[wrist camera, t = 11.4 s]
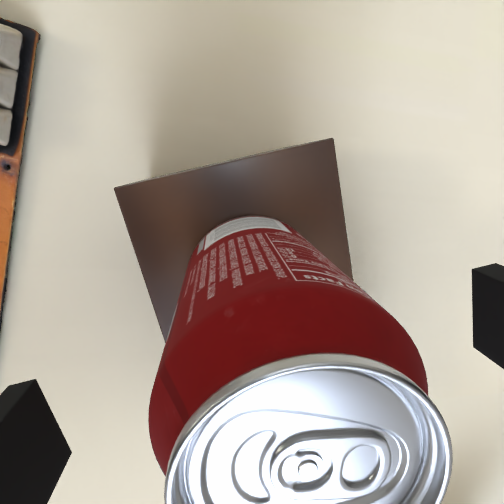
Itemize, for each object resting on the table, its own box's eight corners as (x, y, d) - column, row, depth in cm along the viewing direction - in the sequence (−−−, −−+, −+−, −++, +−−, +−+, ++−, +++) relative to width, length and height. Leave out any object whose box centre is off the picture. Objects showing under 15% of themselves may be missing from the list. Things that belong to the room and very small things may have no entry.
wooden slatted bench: (218, 405, 30) (218, 503, 22) (150, 178, 24) (113, 187, 16) (333, 376, 31) (378, 460, 22) (293, 145, 25) (333, 137, 16)
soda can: (188, 210, 16) (117, 326, 5) (319, 215, 17) (526, 328, 6) (187, 332, 18) (133, 629, 7) (306, 332, 19) (443, 599, 7)
